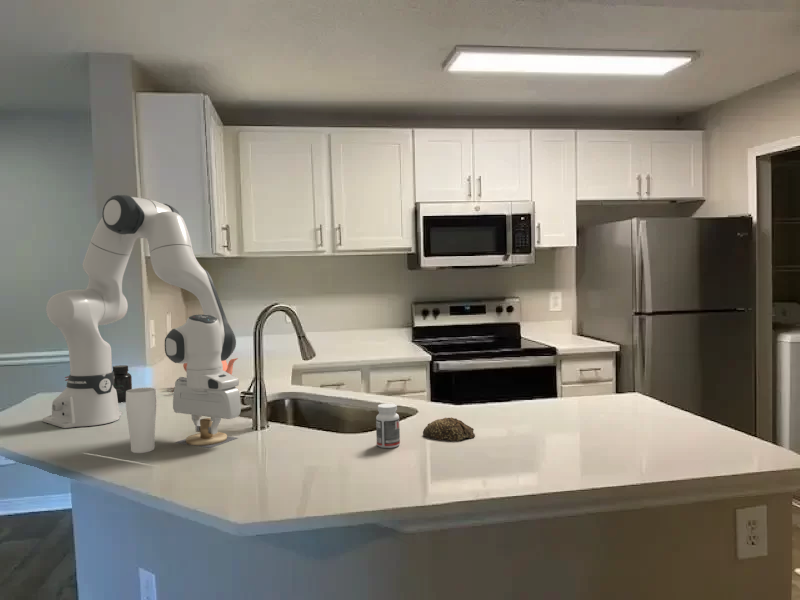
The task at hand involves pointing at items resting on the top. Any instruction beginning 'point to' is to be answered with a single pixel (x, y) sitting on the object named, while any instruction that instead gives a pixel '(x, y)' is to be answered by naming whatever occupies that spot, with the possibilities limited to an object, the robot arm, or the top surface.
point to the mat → (209, 445)
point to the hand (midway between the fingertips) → (206, 432)
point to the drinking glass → (141, 418)
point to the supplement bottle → (122, 381)
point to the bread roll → (448, 430)
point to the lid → (206, 435)
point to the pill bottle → (387, 426)
